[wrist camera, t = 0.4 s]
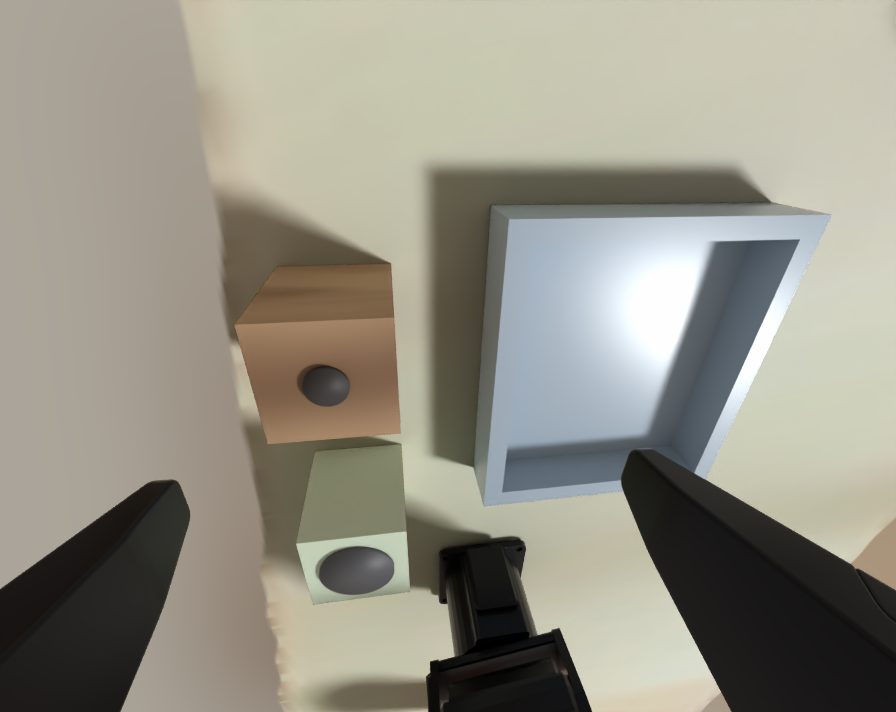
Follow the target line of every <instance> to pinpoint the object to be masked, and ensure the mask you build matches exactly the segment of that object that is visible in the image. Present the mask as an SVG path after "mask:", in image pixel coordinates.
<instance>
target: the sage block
mask: <svg viewBox="0 0 896 712" xmlns="http://www.w3.org/2000/svg"><path fill="white" fill-rule="evenodd" d="M296 546H297V549H298V553H299V557H300V560H301V564H302V567H303V571H304V574H305V578H306V581H307V585H308V589H309V592H310V596H311V599H312V603H313V605H314V604H322V603H329V602H337V601H344V600H352V599H359V598H367V597H374V596H382V595H390V594H397V593H405V592H410V582H409V565H408V548H407V531H406V514H405V496H404V479H403V462H402V445H401V444H397V445H385V446H373V447H361V448H350V449H338V450H326V451H315V454H314V459H313V463H312V468H311V473H310V478H309V483H308V488H307V493H306V497H305V502H304V507H303V512H302V517H301V522H300V527H299V531H298V536H297V541H296Z"/></svg>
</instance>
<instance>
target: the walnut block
mask: <svg viewBox="0 0 896 712" xmlns="http://www.w3.org/2000/svg"><path fill="white" fill-rule="evenodd" d="M234 326H235V329H236V333H237V336H238V340H239V344H240V347H241V351H242V354H243V358H244V361H245V365H246V368H247V372H248V376H249V379H250V383H251V386H252V390H253V393H254V397H255V400H256V404H257V408H258V411H259V415H260V418H261V422H262V425H263V429H264V432H265V436H266V439H267V443H268V444H277V443H289V442H302V441H314V440H326V439H339V438H351V437H363V436H375V435H388V434H400V433H401V429H400V411H399V394H398V376H397V359H396V341H395V324H394V307H393V290H392V273H391V263H387V264H350V265H314V266H278V267H276V269H275V270H274V271H273V273H272V274H271V275H270V277H269V278H268V279H267V281H266V282H265V284H264V285H263V286H262V288H261V289H260V290H259V292H258V293H257V294H256V296H255V297H254V299H253V300H252V301H251V303H250V304H249V305H248V307H247V308H246V309H245V311H244V312H243V314H242V315H241V316H240V318H239V319H238V320H237V322H236V323H235V324H234Z"/></svg>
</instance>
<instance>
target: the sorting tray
mask: <svg viewBox="0 0 896 712" xmlns="http://www.w3.org/2000/svg"><path fill="white" fill-rule="evenodd" d="M831 216H832V215H831V214H826V213H821V212H816V211H811V210H806V209H802V208H797V207H792V206H787V205H782V204H777V203H672V204H565V205H491V210H490V225H489V241H488V256H487V271H486V287H485V302H484V317H483V333H482V348H481V363H480V379H479V394H478V409H477V425H476V440H475V455H474V471H475V475H476V479H477V483H478V486H479V490H480V494H481V498H482V502H483V505H484V506H492V505H501V504H511V503H520V502H529V501H538V500H548V499H557V498H566V497H576V496H585V495H594V494H603V493H613V492H622V491H623V489H622V486H621V475H622V472H623V469H624V466H625V463H626V460H627V457H628V454H629V452H630V451H631V450H633V449H642V448H651V449H653V450H655V451H657V452H659V453H660V454H662V455H664V456H666V457H667V458H669V459H671V460H672V461H674V462H676V463H678V464H679V465H681V466H683V467H684V468H686V469H688V470H690V471H691V472H693V473H695V474H697V475H698V476H700V477H702V478H703V479H706V477H707V475H708V473H709V471H710V469H711V467H712V465H713V463H714V461H715V459H716V456H717V454H718V452H719V450H720V448H721V446H722V444H723V442H724V440H725V438H726V436H727V433H728V431H729V429H730V427H731V425H732V423H733V421H734V419H735V417H736V415H737V413H738V410H739V408H740V406H741V404H742V402H743V400H744V398H745V396H746V394H747V392H748V390H749V387H750V385H751V383H752V381H753V379H754V377H755V375H756V373H757V371H758V369H759V367H760V365H761V362H762V360H763V358H764V356H765V354H766V352H767V350H768V348H769V346H770V344H771V342H772V339H773V337H774V335H775V333H776V331H777V329H778V327H779V325H780V323H781V321H782V319H783V316H784V314H785V312H786V310H787V308H788V306H789V304H790V302H791V300H792V298H793V296H794V293H795V291H796V289H797V287H798V285H799V283H800V281H801V279H802V277H803V275H804V273H805V270H806V268H807V266H808V264H809V262H810V260H811V258H812V256H813V254H814V252H815V250H816V247H817V245H818V243H819V241H820V239H821V237H822V235H823V233H824V231H825V229H826V227H827V224H828V222H829V220H830V218H831Z"/></svg>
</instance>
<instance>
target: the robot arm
mask: <svg viewBox="0 0 896 712" xmlns="http://www.w3.org/2000/svg"><path fill="white" fill-rule="evenodd" d="M621 486H622V489H623V492H624V494H625V496H626V499H627V501H628V504H629V506H630V509H631V511H632V514H633V516H634V518H635V521H636V523H637V526H638V528H639V531H640V533H641V536H642V538H643V541H644V543H645V545H646V548H647V550H648V552H649V554H650V557H651V559H652V561H653V563H654V565H655V567H656V569H657V570H658V572H659V574H660V576H661V578H662V580H663V582H664V584H665V586H666V588H667V590H668V591H669V593H670V595H671V597H672V599H673V601H674V603H675V605H676V607H677V609H678V611H679V612H680V614H681V616H682V618H683V620H684V622H685V624H686V626H687V628H688V630H689V632H690V633H691V635H692V637H693V639H694V641H695V643H696V645H697V647H698V649H699V651H700V652H701V654H702V656H703V658H704V660H705V662H706V664H707V666H708V668H709V670H710V672H711V673H712V675H713V677H714V679H715V681H716V683H717V685H718V687H719V689H720V691H721V693H722V694H723V696H724V698H725V700H726V702H727V704H728V706H729V708H730V710H731V711H732V712H896V590H894V589H893V588H891V587H889V586H888V585H886V584H884V583H882V582H880V581H879V580H877V579H875V578H874V577H872V576H870V575H869V574H867V573H865V572H864V571H862V570H860V569H855V568H854V566H852V565H851V564H850V563H848V562H846V561H845V560H843V559H841V558H839V557H838V556H836V555H834V554H832V553H831V552H829V551H827V550H826V549H824V548H822V547H820V546H819V545H817V544H815V543H814V542H812V541H810V540H808V539H807V538H805V537H803V536H802V535H800V534H798V533H796V532H795V531H793V530H791V529H789V528H788V527H786V526H784V525H783V524H781V523H779V522H777V521H776V520H774V519H772V518H771V517H769V516H767V515H765V514H764V513H762V512H760V511H758V510H757V509H755V508H753V507H752V506H750V505H748V504H746V503H745V502H743V501H741V500H740V499H738V498H736V497H734V496H733V495H731V494H729V493H728V492H726V491H724V490H722V489H721V488H719V487H717V486H715V485H714V484H712V483H710V482H709V481H707V480H705V479H703V478H702V477H700V476H698V475H697V474H695V473H693V472H691V471H690V470H688V469H686V468H684V467H683V466H681V465H679V464H678V463H676V462H674V461H672V460H671V459H669V458H667V457H666V456H664V455H662V454H660V453H659V452H657V451H655V450H653V449H651V448H642V449H633V450H631V451H630V452H629V454H628V457H627V460H626V463H625V466H624V469H623V472H622V475H621ZM189 521H190V510H189V507H188V504H187V502H186V499H185V497H184V494H183V491H182V489H181V486H180V484H179V483H178V482H177V481H176V480H158V481H152V482H149V483H147V484H146V485H144V486H143V487H141V488H140V489H139V490H137V491H136V492H134V493H133V494H132V495H130V496H129V497H127V498H126V499H125V500H123V501H122V502H120V503H119V504H118V505H116V506H115V507H113V508H112V509H111V510H109V511H108V512H107V513H105V514H104V515H103V516H101V517H100V518H98V519H97V520H96V521H94V522H93V523H91V524H90V525H89V526H87V527H86V528H84V529H83V530H82V531H80V532H79V533H77V534H76V535H75V536H73V537H72V538H71V539H69V540H68V541H66V542H65V543H63V544H62V545H61V546H59V547H58V548H56V549H55V550H54V551H52V552H51V553H50V554H48V555H47V556H45V557H44V558H43V559H41V560H40V561H38V562H37V563H36V564H34V565H33V566H31V567H30V568H29V569H27V570H26V571H25V572H23V573H22V574H21V575H19V576H18V577H16V578H15V579H13V580H12V581H11V582H9V583H8V584H6V585H5V586H4V587H2V588H1V589H0V712H120V711H121V709H122V707H123V704H124V702H125V699H126V697H127V695H128V692H129V690H130V687H131V685H132V682H133V680H134V678H135V675H136V673H137V670H138V668H139V666H140V663H141V661H142V658H143V656H144V654H145V651H146V649H147V646H148V644H149V642H150V639H151V637H152V634H153V632H154V630H155V627H156V625H157V622H158V620H159V617H160V614H161V612H162V609H163V607H164V603H165V601H166V598H167V595H168V591H169V588H170V585H171V581H172V578H173V575H174V571H175V568H176V565H177V561H178V558H179V555H180V551H181V548H182V545H183V541H184V538H185V535H186V531H187V528H188V525H189ZM525 551H526V546H525V543H524V542H523V541H522V540H517V541H509V542H500V543H492V544H484V545H475V546H467V547H459V548H450V549H444V550H442V551H440V552H439V602H440V603H441V604H448V610H449V617H450V625H451V632H452V640H453V647H454V655H455V657H452V658H448V659H445V660H441V661H439V660H434V661H430V674H428V675H427V676H426V682H427V694H428V712H592V710H591V707H590V705H589V702H588V699H587V696H586V694H585V691H584V689H583V686H582V684H581V681H580V679H579V676H578V674H577V671H576V668H575V666H574V663H573V661H572V658H571V656H570V653H569V651H568V648H567V646H566V643H565V641H564V638H563V636H562V633H561V631H560V628H557V629H553V630H551V631H552V632H549V633H545V634H541V635H537V631H536V628H535V625H534V621H533V618H532V615H531V612H530V608H529V605H528V602H527V598H526V595H525V592H524V588H523V585H522V582H521V573H522V568H523V562H524V557H525Z"/></svg>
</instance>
